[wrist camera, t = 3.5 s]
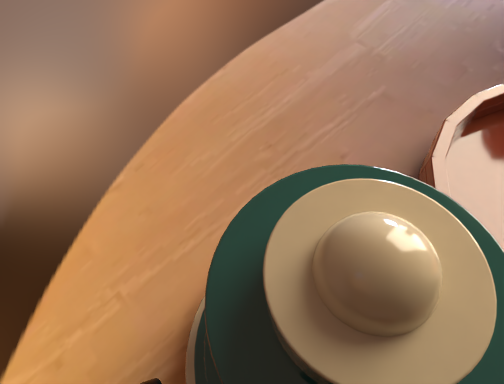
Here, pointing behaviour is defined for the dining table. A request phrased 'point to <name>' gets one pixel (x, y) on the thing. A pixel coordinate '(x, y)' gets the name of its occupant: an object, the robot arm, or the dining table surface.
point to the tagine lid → (351, 287)
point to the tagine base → (472, 159)
